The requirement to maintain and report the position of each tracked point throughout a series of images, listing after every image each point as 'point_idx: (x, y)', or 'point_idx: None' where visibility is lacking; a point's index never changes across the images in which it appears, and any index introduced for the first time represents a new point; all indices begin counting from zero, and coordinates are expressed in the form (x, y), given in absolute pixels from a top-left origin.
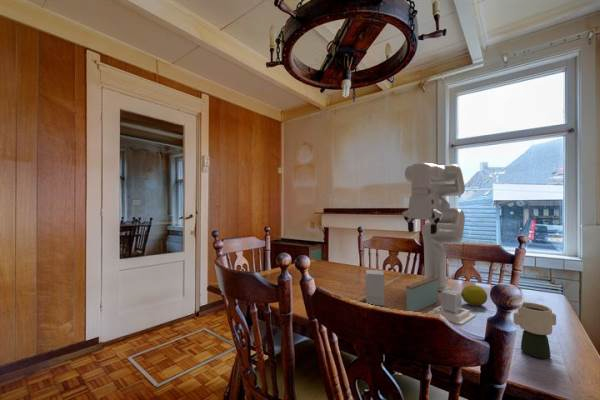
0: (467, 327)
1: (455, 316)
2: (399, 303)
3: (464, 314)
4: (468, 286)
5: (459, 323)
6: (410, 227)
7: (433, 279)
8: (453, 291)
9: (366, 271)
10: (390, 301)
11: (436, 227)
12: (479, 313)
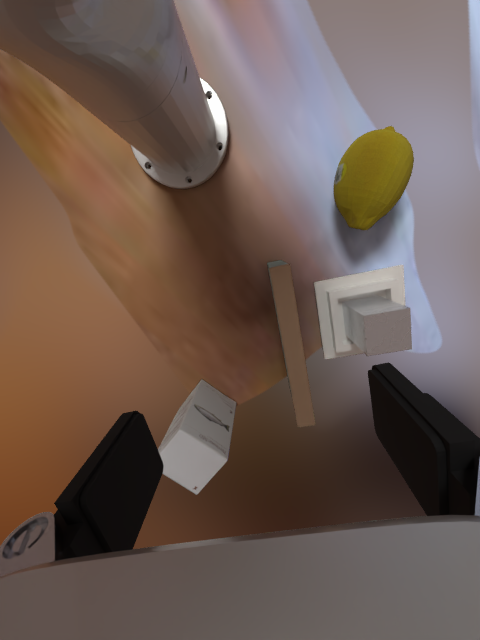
0: (418, 343)
1: None
2: (241, 362)
3: None
4: (372, 190)
5: None
6: (144, 505)
7: (294, 295)
8: (389, 320)
9: (167, 475)
10: (220, 371)
11: (460, 425)
12: (397, 237)
